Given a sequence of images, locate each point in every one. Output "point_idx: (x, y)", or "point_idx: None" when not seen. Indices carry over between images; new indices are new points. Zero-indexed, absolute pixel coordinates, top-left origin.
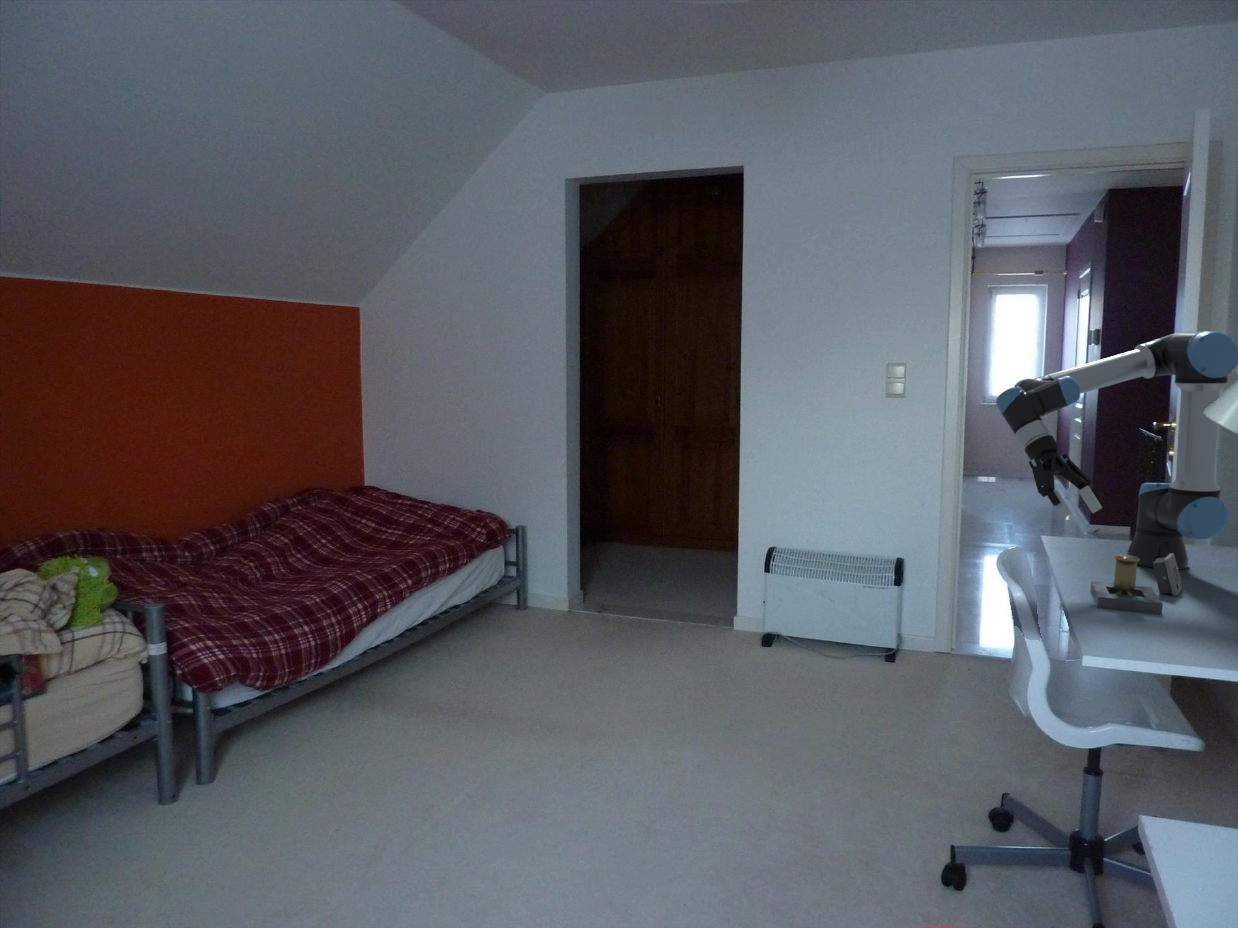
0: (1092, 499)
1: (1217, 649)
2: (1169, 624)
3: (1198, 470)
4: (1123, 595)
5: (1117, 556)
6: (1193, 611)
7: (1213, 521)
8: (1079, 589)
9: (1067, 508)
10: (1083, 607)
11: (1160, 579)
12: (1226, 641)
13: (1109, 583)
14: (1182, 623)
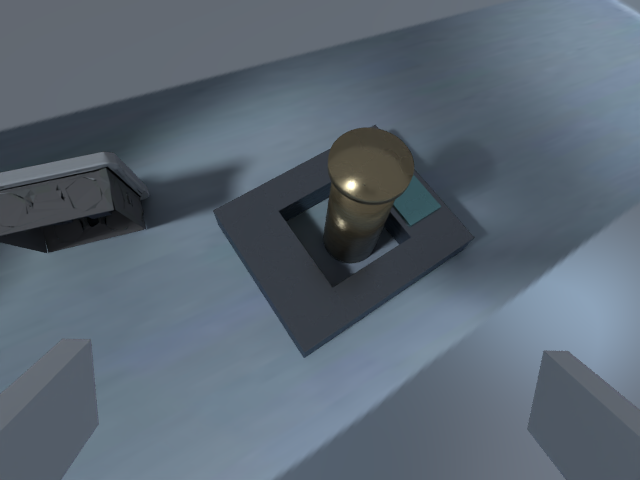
0: (29, 433)
1: (502, 15)
2: (432, 105)
3: None
4: (400, 203)
5: (396, 184)
6: (271, 117)
7: None
8: (317, 389)
9: (594, 378)
10: (500, 269)
11: (131, 210)
12: (439, 21)
13: (281, 300)
14: (398, 95)
